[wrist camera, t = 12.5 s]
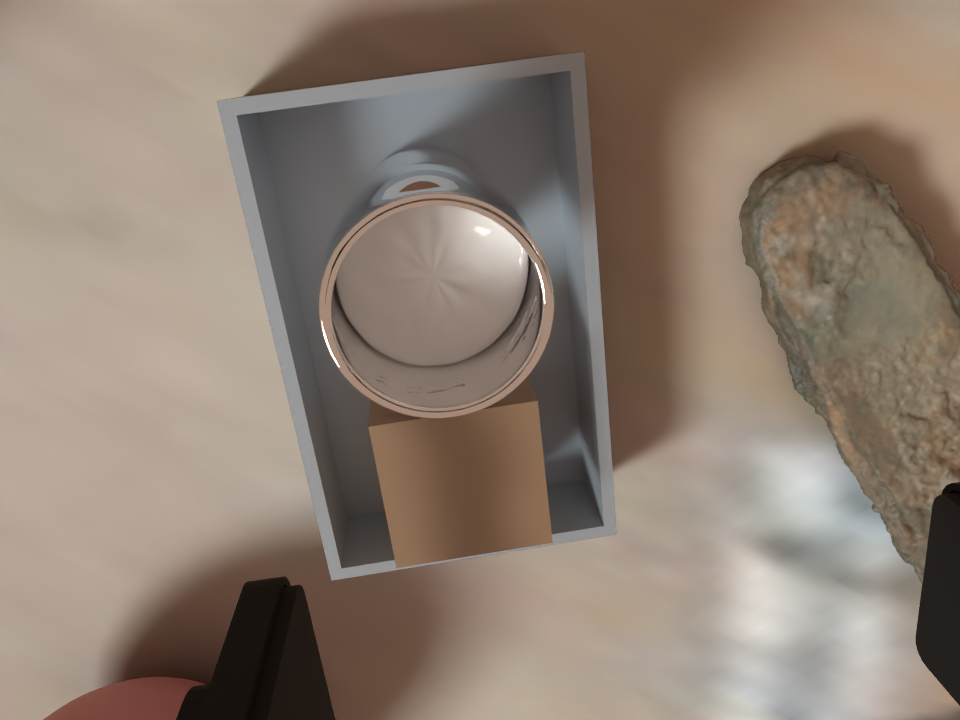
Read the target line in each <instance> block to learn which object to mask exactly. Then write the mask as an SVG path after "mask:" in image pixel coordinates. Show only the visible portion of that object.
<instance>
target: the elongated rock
mask: <svg viewBox="0 0 960 720" xmlns="http://www.w3.org/2000/svg"><path fill="white" fill-rule="evenodd" d="M739 219H740V226H741V229H742V246H743V253H744V256H745V258H746V265H748V266H750V267H752V269H753V270H754V271H755V273H756V274H757V275H758V277H759V280H760V286H761V288H762V303H761V304H762V309H763V312H764V314H765V316H766V317H767V320H768V323H769V324H770V325H771V326H772V328H773V329H774V330H775V332H776V334H777V335H778V343H779V344H780V346H781V347H782V348H783V349H784V350H785V352H786V355H787V361H788V366H789V370H790V374H791V375H792V381H793V383H794V388H795V389H796V390H797V391H798V393H800V394H801V395H803V396H804V400H805V401H806V402H808V403H809V404H810V405H812V406H813V407H814V408H815V412H816V413H817V414H819V415H821V416H822V417H823V418H824V419H825V421H826V422H827V426H828V428H829V430H830V431H831V433H832V435H833V437H834V439H835V441H836V442H837V444H836V445H837V448H838V450H839V454H840V455H841V458H842V459H843V460H844V463H845V464H846V465H847V466H848V467H849V469H850V470H851V472H852V473H853V474H854V475H855V476H856V478H857V480H858V482H859V484H860V486H861V489H862V490H863V493H864V494H865V495H866V496H868V498H870V499H871V500H872V501H873V502H874V504H873V506H872V509H873V511H874V512H879V513H880V514H881V518H882V520H883V522H884V524H885V525H886V529H887V532H888V533H890V534H891V538H892V543H893V545H894V546H895V548H896V550H897V552H898V553H899V555H900V556H901V558H902V559H903V560H904V561H905V562H906V563H909V564H911V565H912V566H913V567H914V568H915V573H916V574H917V575H918V577H919V579H920V581H921V582H922V583H923V576H924V568H925V560H926V552H927V544H928V536H929V528H930V521H931V513H932V505H933V501H934V499H935V498H936V496H939V495H941V494H942V490H943V489H944V488H945V486H946V485H948V484H950V483H956V482H960V292H958V291H957V290H956V289H955V287H953V286H952V284H951V283H950V277H949V275H948V274H947V272H946V271H945V269H943V268H942V267H941V266H939V265H938V264H937V263H936V256H935V251H934V248H933V247H932V244H931V242H930V240H929V239H928V238H927V237H926V236H925V231H924V229H923V227H922V226H921V225H919V224H918V223H917V222H916V221H915V220H914V219H908V218H907V217H906V216H905V215H904V212H903V209H902V208H901V207H900V206H899V204H898V202H897V200H896V199H895V198H894V196H893V195H892V194H891V187H890V186H889V185H888V184H887V183H884V182H883V183H881V182H880V181H879V180H878V179H875V178H874V176H873V175H872V174H870V173H869V172H868V171H867V170H866V167H865V165H864V164H863V163H862V162H861V161H860V160H858V159H857V157H856V156H855V155H851V154H848V153H845V152H837V153H836V155H835V156H834V157H833V159H832V162H830V163H827V162H825V161H824V160H823V159H821V158H818V157H812V156H805V157H796V158H793V159H789V160H785V161H782V162H780V163H777V164H776V165H775V166H774V167H772V168H771V169H769V170H768V171H766V172H765V173H764V174H762V175H761V176H760V177H759V178H757V179H755V180H754V182H753V183H752V184H751V186H750V188H749V195H748V198H747V199H746V200H745V202H744V203H743V206H742V208H741V212H740V216H739Z"/></svg>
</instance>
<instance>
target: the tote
mask: <svg viewBox="0 0 960 720" xmlns="http://www.w3.org/2000/svg"><path fill="white" fill-rule="evenodd" d="M217 105H218V109H219V114H220V118H221V122H222V126H223V130H224V134H225V139H226V143H227V147H228V151H229V155H230V159H231V164H232V168H233V172H234V176H235V180H236V185H237V189H238V193H239V197H240V201H241V205H242V210H243V214H244V218H245V222H246V226H247V230H248V235H249V239H250V243H251V247H252V251H253V256H254V260H255V264H256V268H257V272H258V276H259V281H260V285H261V289H262V293H263V297H264V301H265V306H266V310H267V314H268V318H269V322H270V327H271V331H272V335H273V339H274V343H275V347H276V352H277V356H278V360H279V364H280V368H281V372H282V377H283V381H284V385H285V389H286V393H287V398H288V402H289V406H290V410H291V414H292V418H293V423H294V427H295V431H296V435H297V439H298V443H299V448H300V452H301V456H302V460H303V464H304V469H305V473H306V477H307V481H308V485H309V489H310V494H311V498H312V502H313V506H314V510H315V514H316V519H317V523H318V527H319V531H320V535H321V540H322V544H323V548H324V552H325V556H326V560H327V565H328V569H329V573H330V577H331V581H333V580H339V579H345V578H352V577H358V576H364V575H370V574H376V573H382V572H389V571H395V570H401V569H407V568H413V567H419V566H426V565H432V564H438V563H444V562H450V561H456V560H462V559H469V558H475V557H481V556H487V555H493V554H499V553H506V552H512V551H518V550H524V549H530V548H536V547H543V546H549V545H555V544H561V543H567V542H573V541H579V540H586V539H592V538H598V537H604V536H610V535H616V534H617V529H616V514H615V499H614V484H613V469H612V454H611V439H610V424H609V409H608V395H607V380H606V365H605V350H604V335H603V320H602V305H601V290H600V275H599V260H598V245H597V230H596V216H595V201H594V186H593V171H592V156H591V141H590V126H589V111H588V96H587V81H586V66H585V52H577V53H567V54H558V55H550V56H543V57H535V58H528V59H520V60H513V61H505V62H498V63H490V64H483V65H475V66H468V67H460V68H453V69H445V70H438V71H430V72H423V73H415V74H408V75H400V76H393V77H385V78H378V79H370V80H363V81H355V82H348V83H340V84H333V85H325V86H318V87H310V88H303V89H295V90H288V91H280V92H273V93H265V94H258V95H250V96H243V97H237V98H231V99H225V100H219V101H217ZM413 148H434V149H439V150H442V151H445V152H448V153H450V154H453V155H455V156H456V157H458V158H460V159H461V160H463V161H464V162H465V163H466V164H468V165H469V166H470V167H471V168H472V169H473V170H474V172H475V173H477V174H478V175H480V176H482V177H484V178H485V179H487V180H488V181H490V182H491V183H492V184H494V185H495V186H496V187H497V188H498V189H500V190H501V191H502V192H503V193H504V194H505V195H506V196H507V197H508V198H509V199H510V200H511V201H512V202H513V203H514V204H515V206H516V207H517V208H518V210H519V211H520V212H521V214H522V215H523V217H524V219H525V220H526V222H527V223H528V225H529V227H530V229H531V230H532V232H533V235H534V237H535V239H536V241H537V244H538V246H539V249H540V251H541V253H542V255H543V257H544V259H545V261H546V264H547V266H548V269H549V272H550V275H551V279H552V283H553V290H554V302H555V307H554V319H553V325H552V330H551V334H550V337H549V340H548V343H547V346H546V348H545V350H544V352H543V354H542V356H541V358H540V360H539V362H538V363H537V365H536V366H535V368H534V369H533V371H532V372H531V373H530V374H529V376H528V378H529V380H530V383H531V385H532V388H533V390H534V393H535V395H536V398H537V400H538V408H539V417H540V427H541V436H542V446H543V455H544V465H545V474H546V484H547V493H548V503H549V512H550V522H551V532H552V541H553V543H548V544H542V545H536V546H530V547H523V548H517V549H511V550H505V551H499V552H493V553H486V554H480V555H474V556H468V557H462V558H456V559H449V560H443V561H437V562H431V563H425V564H419V565H412V566H406V567H400V568H396V563H395V558H394V553H393V548H392V543H391V538H390V533H389V528H388V523H387V518H386V513H385V508H384V503H383V498H382V493H381V488H380V483H379V478H378V473H377V468H376V463H375V458H374V453H373V448H372V443H371V438H370V433H369V428H368V425H369V415H370V405H371V400H370V399H369V398H367V397H366V396H365V395H363V394H362V393H361V392H359V391H358V390H357V389H356V388H355V387H354V386H353V385H352V384H351V383H350V382H349V381H348V380H347V379H346V378H345V377H344V376H343V374H342V373H341V372H340V370H339V369H338V367H337V366H336V364H335V363H334V361H333V359H332V357H331V355H330V353H329V351H328V349H327V347H326V344H325V341H324V338H323V334H322V331H321V326H320V319H319V294H320V287H321V282H322V273H323V265H324V259H325V254H326V251H327V247H328V244H329V240H330V237H331V234H332V232H333V229H334V227H335V225H336V223H337V221H338V219H339V218H340V216H341V214H342V213H343V211H344V210H345V208H346V207H347V205H348V204H349V202H350V201H351V200H352V199H353V197H354V196H355V195H356V194H357V193H358V192H359V191H360V190H361V189H362V188H363V186H364V184H365V182H366V180H367V178H368V177H369V176H370V174H371V173H372V172H373V170H374V169H375V168H376V167H377V166H378V165H379V164H380V163H381V162H383V161H384V160H385V159H387V158H388V157H390V156H392V155H394V154H396V153H398V152H401V151H404V150H408V149H413Z"/></svg>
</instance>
